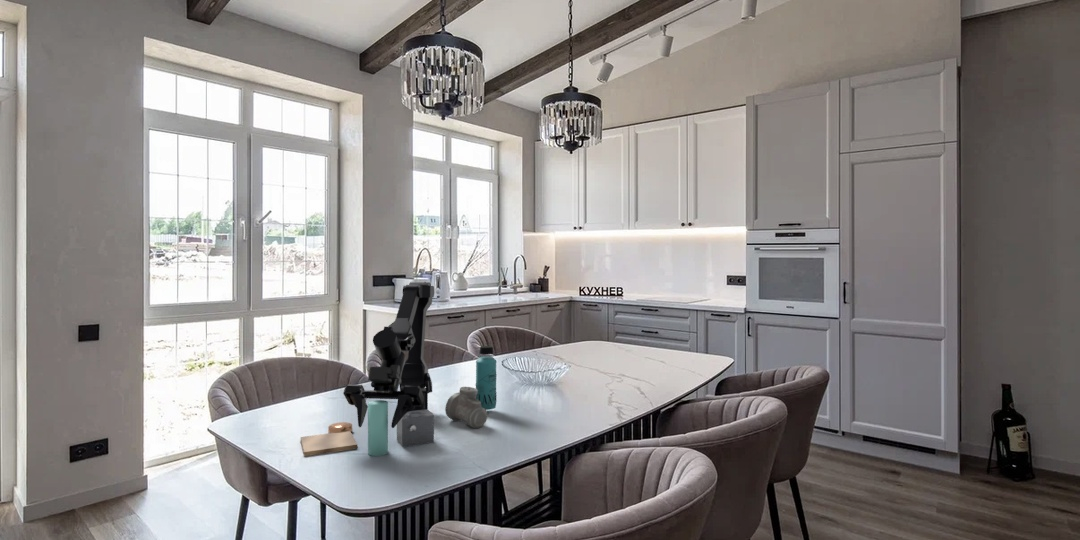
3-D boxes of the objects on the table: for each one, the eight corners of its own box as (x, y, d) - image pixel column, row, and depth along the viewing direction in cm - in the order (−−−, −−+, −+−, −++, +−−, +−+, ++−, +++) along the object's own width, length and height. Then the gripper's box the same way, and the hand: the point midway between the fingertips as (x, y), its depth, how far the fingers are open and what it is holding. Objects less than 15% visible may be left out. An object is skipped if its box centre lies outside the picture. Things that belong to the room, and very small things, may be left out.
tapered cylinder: (385, 448, 137) (385, 399, 136) (389, 454, 133) (389, 404, 132) (366, 450, 135) (366, 401, 134) (369, 457, 131) (369, 406, 130)
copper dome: (349, 428, 153) (349, 421, 153) (354, 434, 148) (354, 427, 148) (326, 431, 150) (326, 424, 150) (330, 438, 145) (330, 430, 145)
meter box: (427, 435, 146) (427, 408, 146) (434, 443, 140) (434, 415, 140) (396, 439, 143) (396, 412, 143) (402, 448, 137) (402, 420, 136)
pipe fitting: (442, 420, 159) (447, 385, 158) (465, 417, 164) (470, 383, 163) (465, 435, 150) (470, 398, 149) (489, 431, 155) (494, 395, 154)
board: (349, 434, 147) (349, 430, 147) (357, 448, 136) (357, 444, 136) (300, 441, 141) (300, 437, 141) (304, 456, 131) (304, 452, 131)
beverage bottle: (471, 413, 167) (471, 347, 166) (481, 408, 173) (481, 343, 172) (490, 416, 164) (490, 348, 164) (500, 410, 171) (500, 345, 170)
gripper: (346, 352, 137) (326, 408, 127) (420, 353, 136) (407, 410, 126) (358, 376, 146) (341, 432, 135) (428, 378, 145) (417, 433, 134)
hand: (375, 426), depth 132 cm, fingers open, 8 cm apart
